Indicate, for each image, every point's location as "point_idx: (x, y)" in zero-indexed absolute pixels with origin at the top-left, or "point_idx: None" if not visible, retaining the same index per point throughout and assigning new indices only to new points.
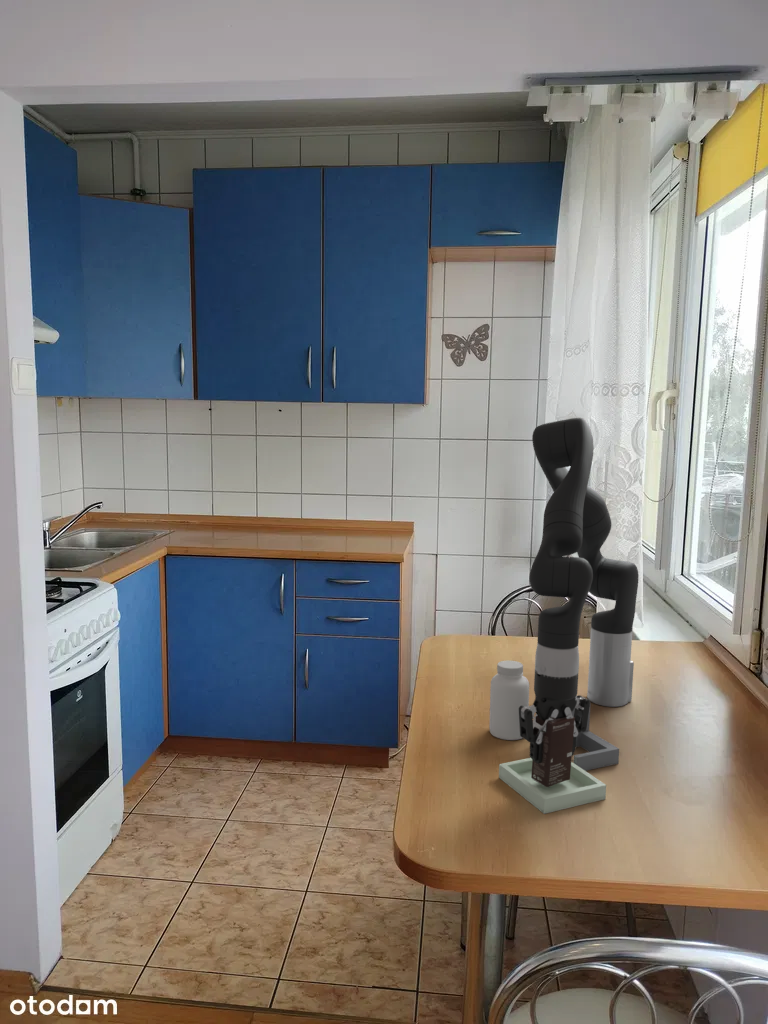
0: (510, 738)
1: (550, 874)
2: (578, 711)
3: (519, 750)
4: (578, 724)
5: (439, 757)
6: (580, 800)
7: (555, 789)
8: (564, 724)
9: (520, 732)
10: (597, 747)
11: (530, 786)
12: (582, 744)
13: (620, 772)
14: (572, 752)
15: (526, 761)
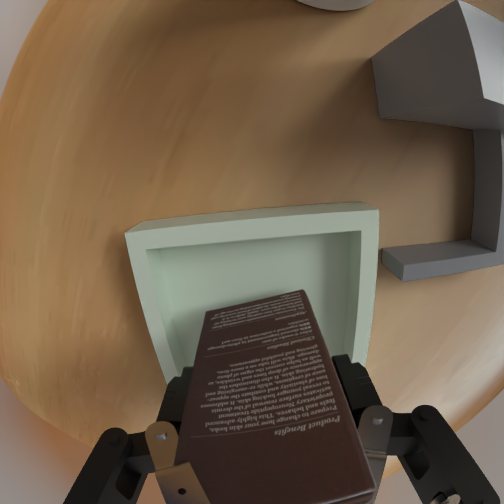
0: (304, 2)
1: None
2: (433, 489)
3: (300, 65)
4: (409, 449)
5: (50, 73)
6: None
7: None
8: None
9: (98, 446)
10: (491, 206)
11: (168, 374)
12: (479, 139)
13: (461, 288)
14: None
15: (227, 240)
